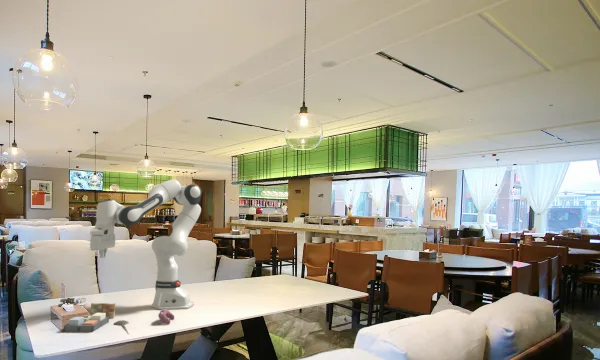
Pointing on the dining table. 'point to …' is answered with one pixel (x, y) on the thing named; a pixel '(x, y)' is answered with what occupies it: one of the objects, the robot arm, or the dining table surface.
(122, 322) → the soupspoon
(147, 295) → the dining table surface
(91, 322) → the key terracotta
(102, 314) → the key cream
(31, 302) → the dining table surface
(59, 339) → the dining table surface
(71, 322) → the key blue
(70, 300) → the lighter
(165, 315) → the pink neck pillow
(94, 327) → the keypad
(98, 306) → the stand
